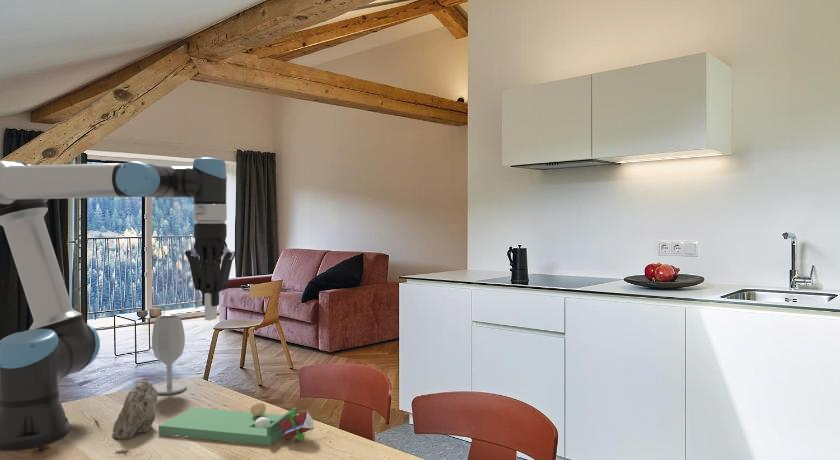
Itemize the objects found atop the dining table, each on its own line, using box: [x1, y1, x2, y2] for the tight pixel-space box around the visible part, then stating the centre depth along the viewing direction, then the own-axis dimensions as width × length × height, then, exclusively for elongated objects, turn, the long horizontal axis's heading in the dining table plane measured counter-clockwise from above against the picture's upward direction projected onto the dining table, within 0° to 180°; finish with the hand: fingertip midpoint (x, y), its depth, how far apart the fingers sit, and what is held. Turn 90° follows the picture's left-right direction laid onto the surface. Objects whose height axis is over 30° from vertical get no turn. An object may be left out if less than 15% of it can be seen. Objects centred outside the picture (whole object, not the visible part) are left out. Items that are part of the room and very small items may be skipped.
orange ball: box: [250, 400, 267, 417], centre depth 146 cm, size 4×4×4 cm
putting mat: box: [158, 407, 298, 446], centre depth 143 cm, size 28×13×4 cm, turn 76°
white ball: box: [255, 417, 270, 429], centre depth 141 cm, size 4×4×4 cm
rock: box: [112, 380, 158, 440], centre depth 143 cm, size 14×10×8 cm
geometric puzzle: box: [279, 407, 315, 444], centre depth 137 cm, size 7×7×8 cm
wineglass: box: [151, 314, 188, 395], centre depth 173 cm, size 9×9×21 cm
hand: (210, 319), depth 150 cm, fingers closed
